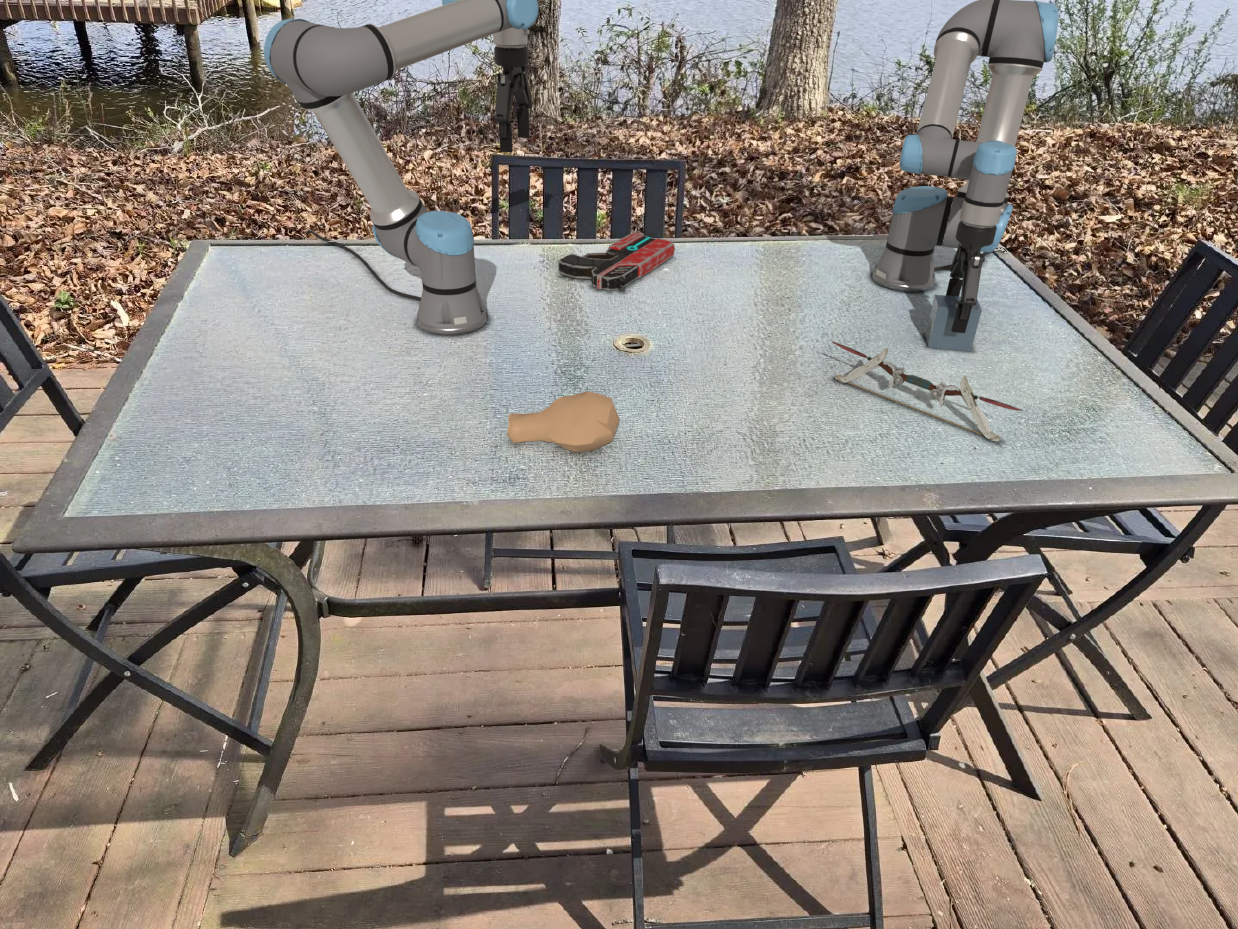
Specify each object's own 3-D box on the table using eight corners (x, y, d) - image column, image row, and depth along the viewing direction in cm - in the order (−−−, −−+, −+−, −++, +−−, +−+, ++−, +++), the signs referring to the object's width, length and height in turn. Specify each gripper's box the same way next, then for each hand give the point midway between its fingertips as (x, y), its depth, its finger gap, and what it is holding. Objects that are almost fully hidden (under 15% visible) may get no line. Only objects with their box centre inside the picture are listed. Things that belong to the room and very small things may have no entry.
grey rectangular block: (970, 351, 191) (982, 310, 186) (928, 347, 192) (938, 306, 187) (966, 338, 196) (977, 298, 191) (925, 334, 198) (934, 294, 192)
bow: (1013, 444, 159) (1029, 396, 153) (1009, 448, 158) (1025, 400, 152) (828, 373, 180) (836, 328, 175) (824, 376, 179) (831, 331, 174)
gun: (551, 260, 217) (618, 279, 209) (616, 225, 239) (679, 240, 231) (552, 278, 220) (618, 297, 212) (615, 241, 242) (677, 256, 234)
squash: (622, 459, 152) (616, 419, 146) (509, 467, 154) (498, 429, 148) (622, 418, 160) (617, 379, 154) (514, 426, 162) (505, 388, 155)
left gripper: (510, 55, 183) (514, 159, 195) (542, 37, 203) (545, 132, 215) (475, 53, 184) (482, 156, 196) (511, 36, 205) (515, 130, 216)
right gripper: (1009, 244, 168) (981, 344, 180) (987, 206, 189) (963, 299, 201) (968, 240, 169) (943, 341, 181) (951, 203, 190) (929, 296, 202)
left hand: (515, 144), depth 206 cm, fingers open, 13 cm apart
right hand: (953, 319), depth 191 cm, fingers open, 13 cm apart
